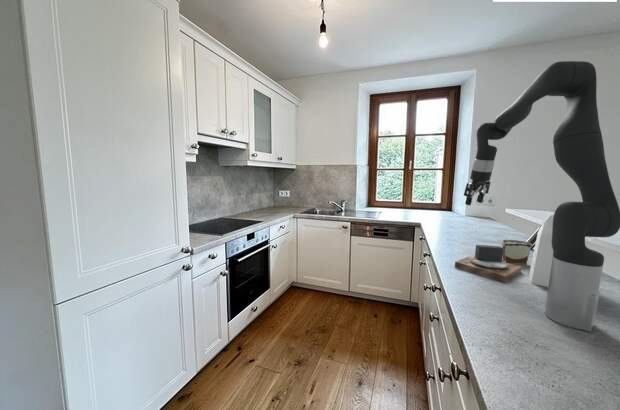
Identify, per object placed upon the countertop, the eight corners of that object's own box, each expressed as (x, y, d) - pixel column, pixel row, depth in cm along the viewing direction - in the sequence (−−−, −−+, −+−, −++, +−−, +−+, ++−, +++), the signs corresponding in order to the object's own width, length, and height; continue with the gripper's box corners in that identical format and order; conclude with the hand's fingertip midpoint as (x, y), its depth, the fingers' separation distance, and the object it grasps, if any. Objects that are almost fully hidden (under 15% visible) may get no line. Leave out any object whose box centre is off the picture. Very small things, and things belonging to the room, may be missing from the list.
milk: (571, 282, 93) (581, 215, 89) (577, 293, 84) (589, 219, 81) (529, 274, 100) (537, 212, 97) (531, 283, 91) (540, 215, 88)
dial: (496, 259, 109) (497, 243, 108) (514, 270, 96) (516, 252, 95) (464, 257, 111) (465, 241, 110) (478, 267, 99) (480, 249, 98)
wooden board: (520, 272, 102) (521, 265, 101) (504, 282, 92) (505, 275, 91) (472, 259, 117) (473, 254, 116) (454, 267, 106) (455, 261, 106)
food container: (520, 260, 117) (522, 239, 116) (530, 264, 111) (533, 243, 110) (492, 258, 118) (495, 238, 117) (501, 263, 112) (503, 242, 111)
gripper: (480, 172, 102) (471, 208, 108) (500, 169, 108) (491, 203, 114) (463, 169, 109) (456, 203, 114) (483, 166, 114) (475, 199, 120)
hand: (473, 203), depth 114 cm, fingers open, 8 cm apart
